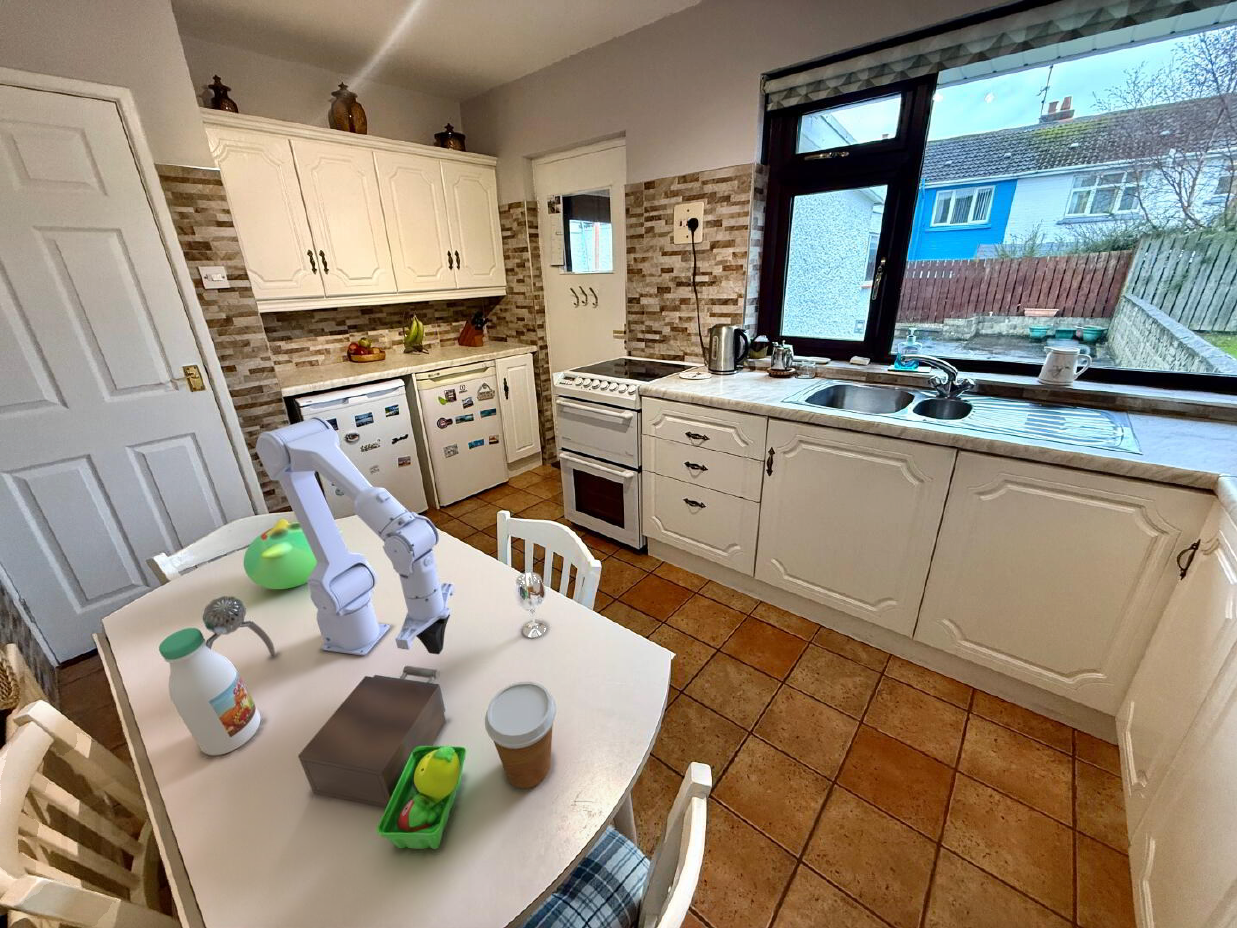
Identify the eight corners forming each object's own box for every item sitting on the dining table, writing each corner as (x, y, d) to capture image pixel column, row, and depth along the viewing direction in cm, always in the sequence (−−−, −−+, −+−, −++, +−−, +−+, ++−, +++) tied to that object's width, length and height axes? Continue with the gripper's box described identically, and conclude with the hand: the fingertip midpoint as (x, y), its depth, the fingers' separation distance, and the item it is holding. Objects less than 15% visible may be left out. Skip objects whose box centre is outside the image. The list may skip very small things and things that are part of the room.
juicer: (275, 655, 91) (279, 608, 70) (201, 691, 84) (181, 651, 63) (254, 610, 93) (251, 552, 72) (179, 641, 85) (152, 587, 65)
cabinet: (376, 710, 79) (365, 675, 76) (446, 721, 77) (438, 686, 74) (313, 793, 67) (297, 755, 64) (394, 809, 65) (382, 771, 62)
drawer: (398, 680, 84) (391, 655, 82) (458, 689, 82) (452, 663, 79) (327, 773, 69) (316, 745, 67) (399, 787, 67) (390, 758, 64)
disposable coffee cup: (502, 812, 64) (490, 750, 59) (489, 751, 72) (478, 692, 68) (570, 783, 68) (564, 721, 63) (551, 727, 76) (544, 669, 71)
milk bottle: (215, 766, 71) (155, 669, 63) (193, 741, 75) (133, 646, 66) (271, 725, 77) (223, 631, 68) (248, 703, 81) (200, 611, 72)
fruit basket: (420, 769, 70) (405, 713, 66) (481, 770, 70) (469, 713, 65) (383, 859, 59) (361, 800, 55) (454, 860, 59) (438, 801, 55)
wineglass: (543, 641, 93) (537, 590, 88) (515, 638, 94) (507, 587, 89) (552, 621, 98) (547, 572, 93) (526, 618, 99) (519, 569, 94)
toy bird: (324, 550, 125) (308, 500, 119) (358, 572, 115) (343, 518, 110) (243, 587, 111) (221, 531, 106) (274, 614, 102) (252, 556, 96)
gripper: (418, 620, 73) (434, 686, 78) (465, 565, 86) (475, 625, 91) (377, 614, 74) (395, 680, 80) (429, 561, 87) (441, 620, 93)
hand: (435, 650), depth 86 cm, fingers closed
